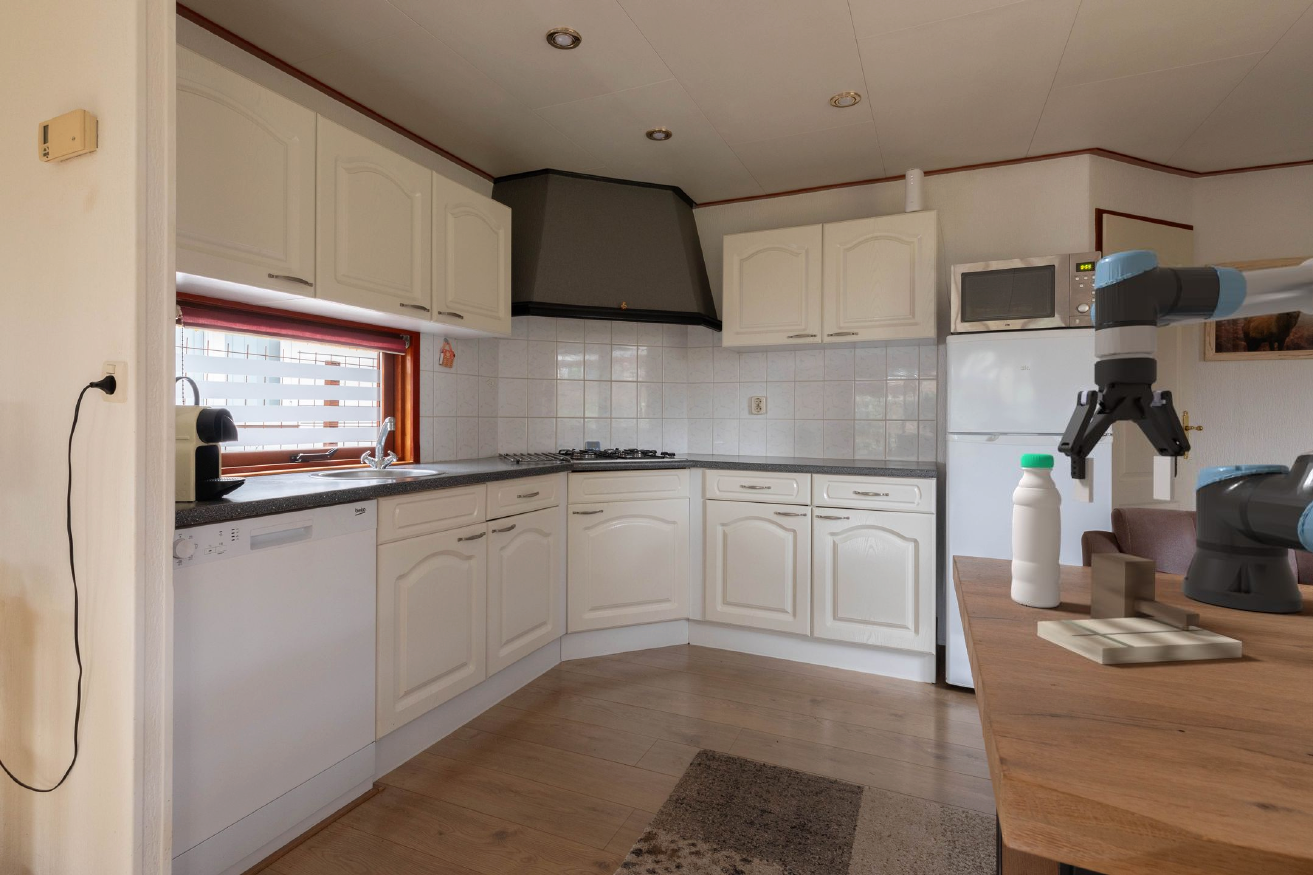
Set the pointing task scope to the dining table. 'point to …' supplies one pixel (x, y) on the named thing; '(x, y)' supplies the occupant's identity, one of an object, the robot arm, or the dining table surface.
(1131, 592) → the block with long handle
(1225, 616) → the dining table surface
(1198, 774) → the dining table surface
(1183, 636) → the board
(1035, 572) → the water bottle
